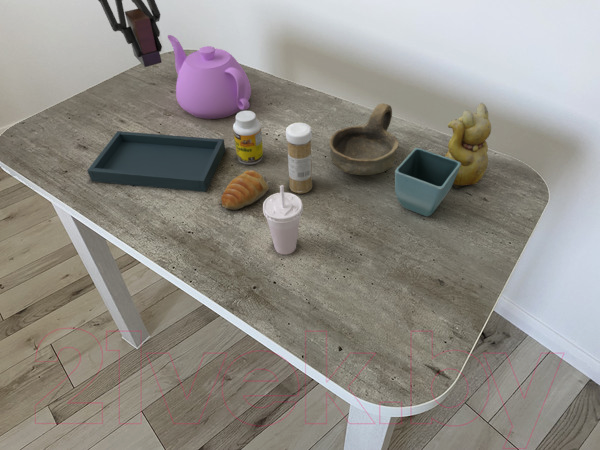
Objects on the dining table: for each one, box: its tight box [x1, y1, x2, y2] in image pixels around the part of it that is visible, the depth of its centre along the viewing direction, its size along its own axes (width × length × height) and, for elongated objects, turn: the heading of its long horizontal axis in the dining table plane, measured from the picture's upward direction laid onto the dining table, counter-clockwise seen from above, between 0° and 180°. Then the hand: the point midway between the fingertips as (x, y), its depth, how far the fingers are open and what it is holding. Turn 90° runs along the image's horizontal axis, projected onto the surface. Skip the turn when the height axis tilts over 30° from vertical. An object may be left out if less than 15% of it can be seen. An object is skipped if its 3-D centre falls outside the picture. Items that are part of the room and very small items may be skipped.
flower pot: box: [394, 147, 461, 218], centre depth 87 cm, size 9×9×9 cm
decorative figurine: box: [444, 102, 492, 189], centre depth 90 cm, size 10×8×15 cm
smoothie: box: [262, 184, 304, 256], centre depth 78 cm, size 6×6×14 cm
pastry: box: [220, 169, 269, 211], centre depth 91 cm, size 9×7×4 cm
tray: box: [87, 130, 226, 193], centre depth 99 cm, size 24×14×3 cm, turn 81°
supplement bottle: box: [232, 110, 264, 165], centre depth 98 cm, size 6×6×10 cm
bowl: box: [328, 102, 400, 176], centre depth 96 cm, size 14×18×10 cm
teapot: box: [167, 34, 252, 120], centre depth 113 cm, size 25×18×14 cm
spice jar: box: [285, 122, 313, 195], centre depth 89 cm, size 5×5×14 cm
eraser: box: [124, 8, 162, 68], centre depth 118 cm, size 8×4×11 cm, turn 33°
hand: (149, 51), depth 117 cm, fingers closed on eraser, 4 cm apart
